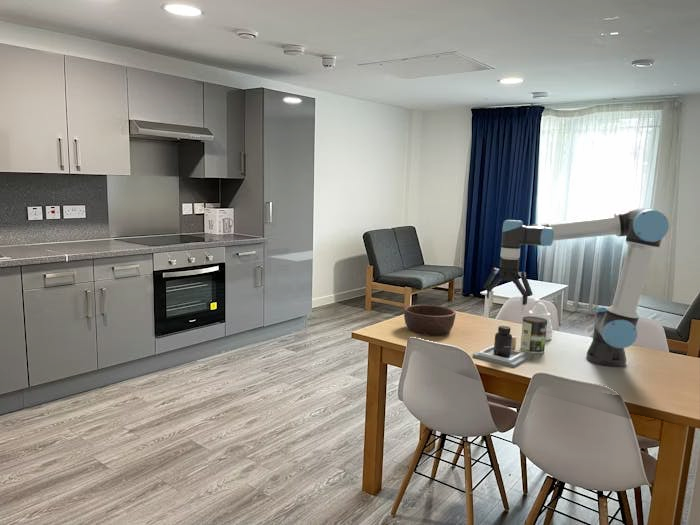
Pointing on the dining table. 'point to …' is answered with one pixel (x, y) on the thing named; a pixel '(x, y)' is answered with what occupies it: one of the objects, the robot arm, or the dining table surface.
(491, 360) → the board
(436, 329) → the wooden bowl
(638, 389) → the dining table surface
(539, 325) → the coffee can
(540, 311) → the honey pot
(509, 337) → the supplement bottle
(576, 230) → the robot arm
